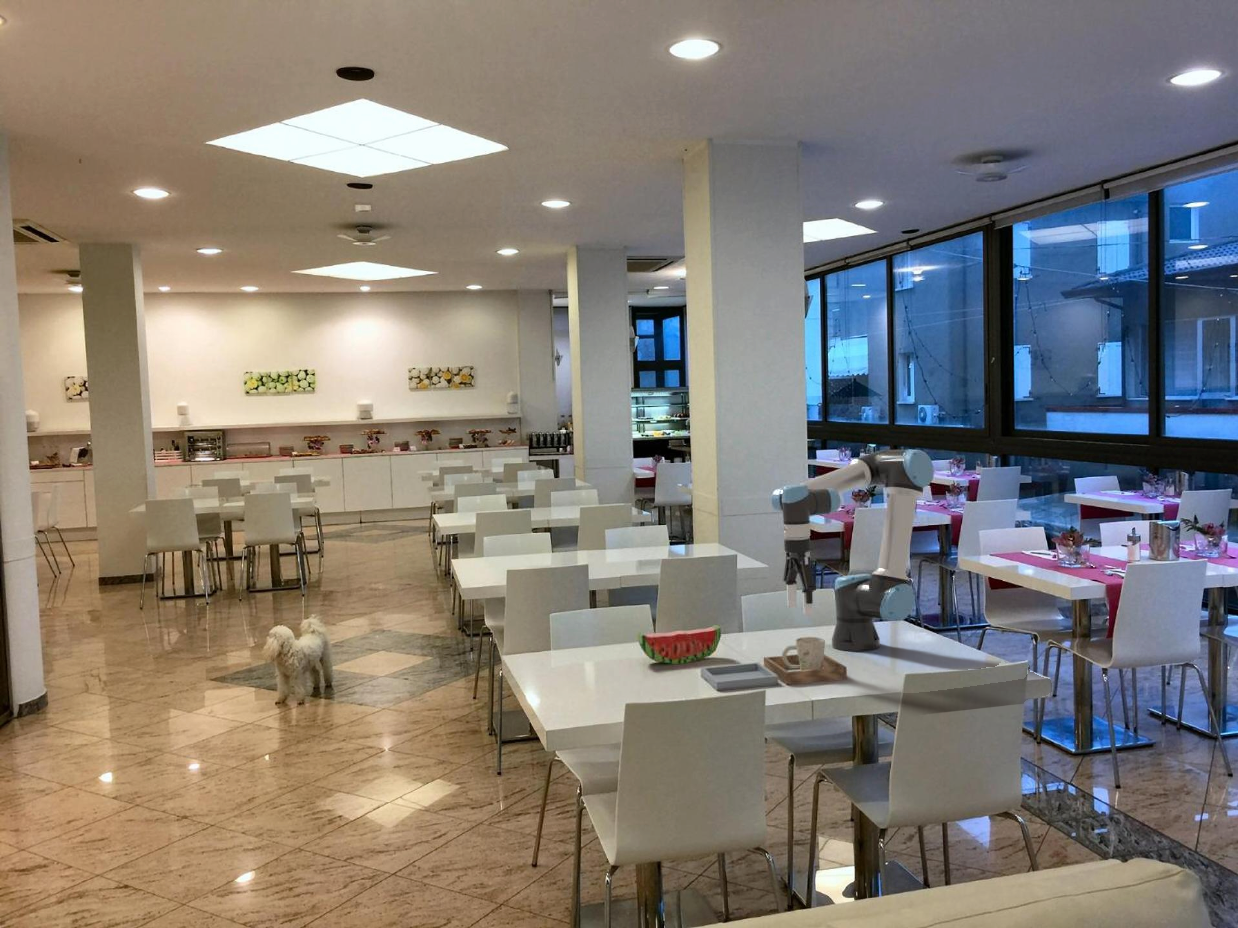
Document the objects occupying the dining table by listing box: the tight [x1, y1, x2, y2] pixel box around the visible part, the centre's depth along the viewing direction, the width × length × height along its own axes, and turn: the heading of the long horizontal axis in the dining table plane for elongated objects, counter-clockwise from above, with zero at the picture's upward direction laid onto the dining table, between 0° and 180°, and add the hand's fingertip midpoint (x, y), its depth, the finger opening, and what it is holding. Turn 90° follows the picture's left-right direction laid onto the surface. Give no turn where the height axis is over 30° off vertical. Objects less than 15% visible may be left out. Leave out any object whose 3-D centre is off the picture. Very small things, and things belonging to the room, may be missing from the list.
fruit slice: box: [637, 624, 722, 665], centre depth 313 cm, size 26×6×10 cm, turn 103°
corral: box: [763, 653, 848, 686], centre depth 290 cm, size 18×20×4 cm
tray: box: [700, 662, 779, 692], centre depth 286 cm, size 18×17×2 cm
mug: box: [781, 636, 826, 670], centre depth 290 cm, size 8×13×10 cm, turn 78°
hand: (800, 610), depth 289 cm, fingers open, 13 cm apart
